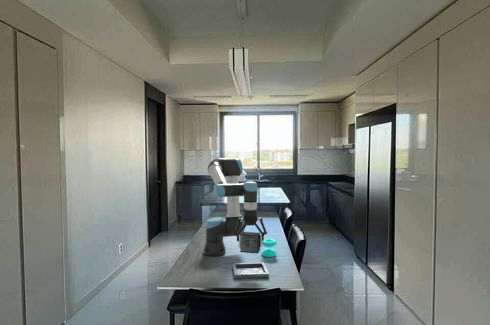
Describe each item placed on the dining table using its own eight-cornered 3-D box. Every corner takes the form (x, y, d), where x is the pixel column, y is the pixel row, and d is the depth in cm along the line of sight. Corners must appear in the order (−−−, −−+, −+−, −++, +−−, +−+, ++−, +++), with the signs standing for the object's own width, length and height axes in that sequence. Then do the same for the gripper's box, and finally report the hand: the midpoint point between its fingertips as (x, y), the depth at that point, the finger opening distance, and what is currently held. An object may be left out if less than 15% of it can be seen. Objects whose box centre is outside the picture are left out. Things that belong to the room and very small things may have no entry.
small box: (260, 250, 186) (260, 232, 186) (258, 253, 180) (258, 235, 179) (242, 248, 189) (242, 231, 188) (239, 252, 183) (239, 234, 182)
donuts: (270, 243, 207) (258, 240, 213) (270, 258, 208) (258, 255, 214) (279, 240, 215) (267, 237, 221) (279, 254, 215) (267, 251, 222)
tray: (234, 279, 176) (234, 274, 176) (232, 267, 193) (232, 263, 192) (268, 278, 178) (268, 273, 177) (263, 266, 195) (264, 262, 194)
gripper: (229, 210, 178) (229, 249, 179) (272, 210, 181) (272, 248, 182) (229, 208, 186) (228, 245, 187) (270, 207, 188) (269, 244, 189)
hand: (250, 246), depth 184 cm, fingers closed on small box, 12 cm apart
